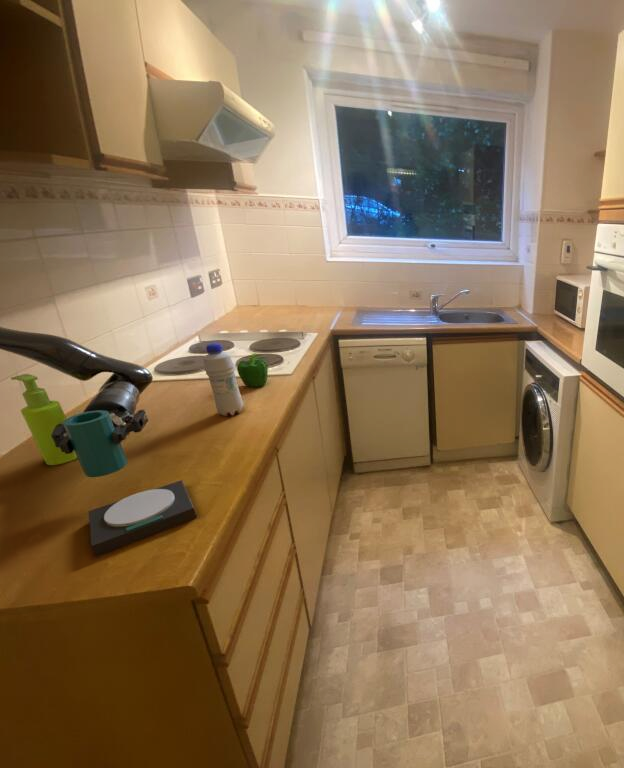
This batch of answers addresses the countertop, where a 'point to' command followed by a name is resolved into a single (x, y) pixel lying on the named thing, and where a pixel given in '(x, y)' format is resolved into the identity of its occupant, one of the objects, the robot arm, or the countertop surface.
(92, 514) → the scale
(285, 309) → the countertop surface
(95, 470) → the jar
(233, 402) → the bottle
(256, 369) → the bell pepper
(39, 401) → the soap dispenser
